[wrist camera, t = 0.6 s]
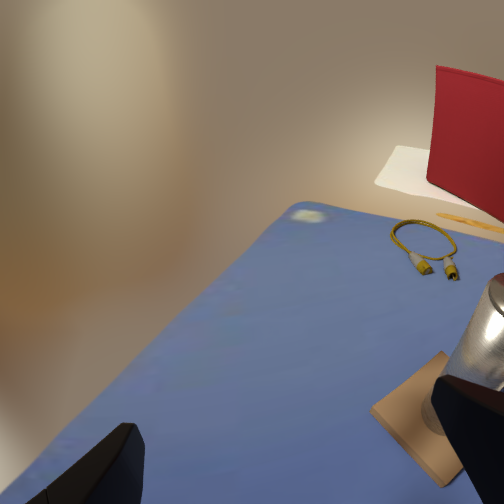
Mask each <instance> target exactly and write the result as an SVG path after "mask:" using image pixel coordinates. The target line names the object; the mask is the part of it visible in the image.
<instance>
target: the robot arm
mask: <svg viewBox="0 0 504 504" xmlns="http://www.w3.org/2000/svg"><path fill="white" fill-rule="evenodd" d="M431 403H432V406H433V408H434V410H435V412H436V415H437V417H438V419H439V421H440V423H441V426H442V428H443V430H444V432H445V435H446V437H447V439H448V441H449V442H450V444H451V446H452V448H453V449H454V451H455V453H456V455H457V456H458V458H459V460H460V462H461V463H462V465H463V467H464V469H465V471H466V472H467V474H468V476H469V478H470V480H471V481H472V483H473V485H474V487H475V489H476V491H477V493H478V495H479V496H480V498H481V500H482V502H483V504H504V393H503V392H500V391H497V390H494V389H491V388H488V387H484V386H481V385H479V384H476V383H473V382H470V381H467V380H464V379H461V378H458V377H455V376H452V375H449V374H446V375H443V376H440V377H438V378H437V379H436V381H435V384H434V388H433V391H432V395H431ZM144 456H145V444H144V441H143V438H142V436H141V434H140V432H139V429H138V427H137V425H136V424H135V423H121V424H120V425H118V426H117V427H116V428H115V429H114V430H113V431H112V432H110V433H109V434H108V435H107V436H106V437H105V438H104V439H102V440H101V441H100V442H99V443H98V444H97V445H96V446H94V447H93V448H92V449H91V450H90V451H89V452H88V453H86V454H85V455H84V456H83V457H82V458H81V459H79V460H78V461H77V462H76V463H75V464H73V465H72V466H71V467H70V468H69V469H68V470H66V471H65V472H64V473H63V474H62V475H60V476H59V477H58V478H57V479H56V480H54V481H53V482H52V483H51V484H50V485H48V486H47V487H46V489H43V490H42V491H41V492H40V493H38V494H37V495H36V496H35V497H33V498H32V499H31V500H29V501H28V502H27V503H25V504H140V503H141V497H142V490H143V472H144Z"/></svg>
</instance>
